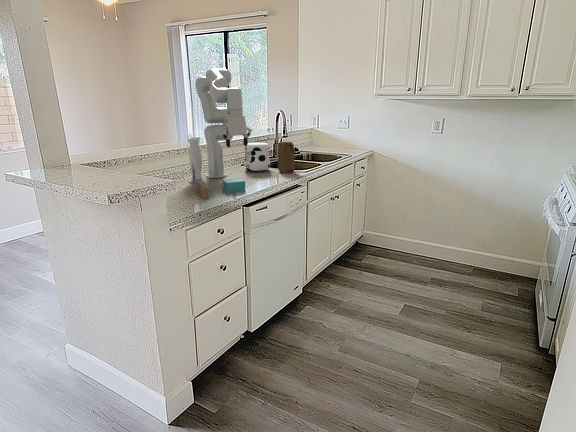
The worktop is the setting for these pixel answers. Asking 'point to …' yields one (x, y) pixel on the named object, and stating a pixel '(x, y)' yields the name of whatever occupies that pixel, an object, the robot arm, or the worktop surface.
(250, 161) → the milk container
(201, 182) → the walnut board
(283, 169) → the block
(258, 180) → the worktop surface
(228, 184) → the teal block
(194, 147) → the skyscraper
